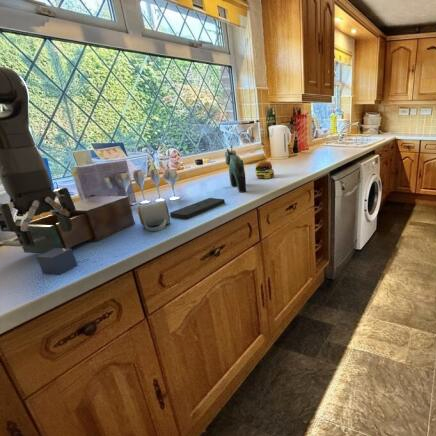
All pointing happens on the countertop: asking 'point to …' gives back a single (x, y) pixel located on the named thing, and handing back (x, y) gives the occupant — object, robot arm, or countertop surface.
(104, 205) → the cabinet
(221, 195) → the countertop surface
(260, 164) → the cheeseburger
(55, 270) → the block
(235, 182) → the dark green animal figure
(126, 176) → the goblet set
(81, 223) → the drawer
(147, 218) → the ceramic mug
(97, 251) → the countertop surface
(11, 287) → the countertop surface
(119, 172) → the cake pan box
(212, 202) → the smart home device
